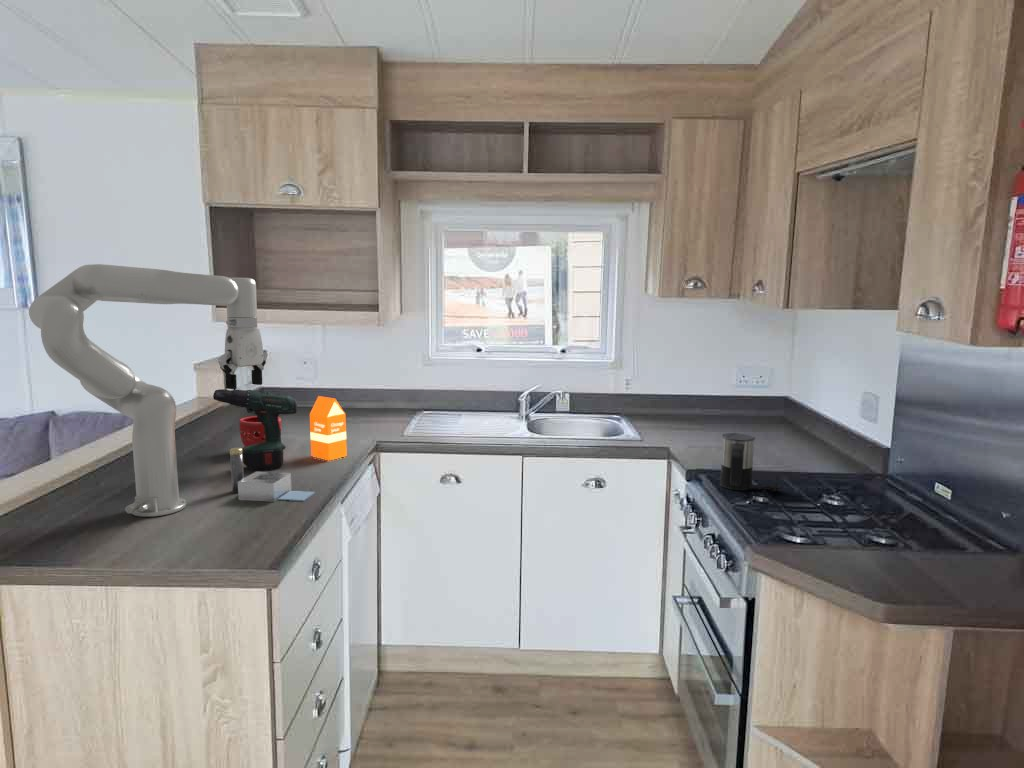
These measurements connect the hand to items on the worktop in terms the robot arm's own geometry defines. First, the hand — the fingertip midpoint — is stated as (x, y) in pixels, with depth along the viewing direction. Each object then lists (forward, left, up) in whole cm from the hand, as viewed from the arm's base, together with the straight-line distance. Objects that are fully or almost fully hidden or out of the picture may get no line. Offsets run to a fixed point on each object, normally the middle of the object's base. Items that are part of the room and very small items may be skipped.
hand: (244, 386), depth 188 cm
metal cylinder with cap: (-3, +2, -29) cm, 29 cm away
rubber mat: (-5, -16, -29) cm, 33 cm away
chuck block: (-5, -7, -29) cm, 30 cm away
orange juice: (+36, -8, -29) cm, 47 cm away
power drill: (+20, +8, -29) cm, 36 cm away
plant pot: (+37, +16, -29) cm, 50 cm away
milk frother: (+22, -139, -29) cm, 144 cm away
